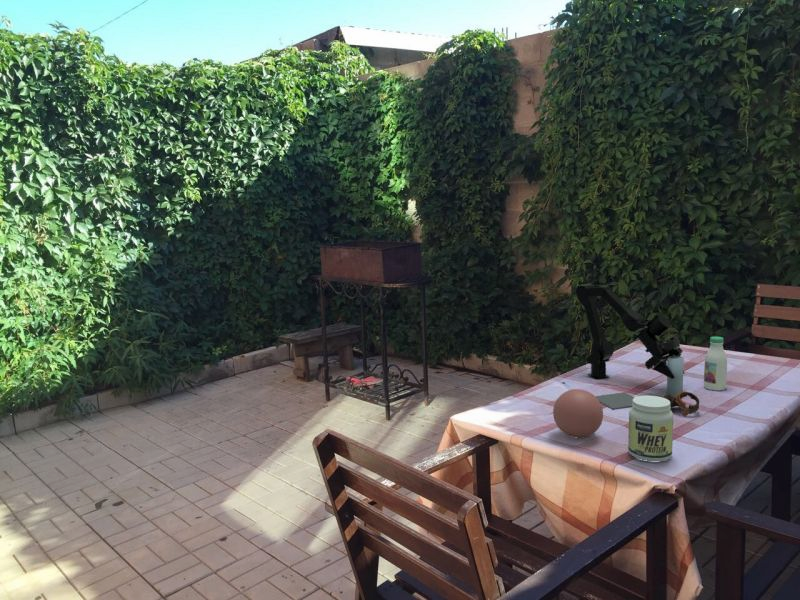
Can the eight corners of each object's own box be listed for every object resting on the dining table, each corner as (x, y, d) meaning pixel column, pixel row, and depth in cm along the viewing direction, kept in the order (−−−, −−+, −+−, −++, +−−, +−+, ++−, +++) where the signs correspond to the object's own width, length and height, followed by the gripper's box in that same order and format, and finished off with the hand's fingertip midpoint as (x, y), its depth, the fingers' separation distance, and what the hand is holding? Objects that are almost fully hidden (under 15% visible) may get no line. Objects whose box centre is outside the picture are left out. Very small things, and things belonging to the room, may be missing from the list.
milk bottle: (721, 384, 250) (723, 335, 247) (729, 391, 243) (731, 339, 239) (700, 385, 251) (702, 335, 248) (708, 391, 244) (710, 340, 240)
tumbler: (663, 392, 245) (664, 356, 242) (676, 390, 246) (677, 355, 244) (673, 396, 239) (674, 360, 237) (685, 394, 241) (687, 358, 238)
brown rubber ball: (615, 428, 211) (615, 383, 208) (591, 449, 195) (592, 401, 193) (570, 420, 220) (570, 377, 218) (545, 439, 205) (544, 393, 202)
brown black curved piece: (691, 408, 228) (700, 392, 223) (693, 427, 221) (703, 411, 216) (657, 399, 230) (665, 383, 225) (658, 418, 223) (667, 402, 218)
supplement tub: (631, 463, 185) (632, 407, 182) (625, 446, 196) (626, 393, 194) (676, 465, 182) (678, 408, 179) (667, 448, 194) (669, 394, 191)
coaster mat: (591, 397, 242) (591, 396, 242) (624, 393, 245) (624, 392, 245) (612, 409, 228) (612, 408, 228) (646, 404, 232) (646, 403, 232)
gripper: (653, 335, 236) (681, 369, 229) (678, 326, 247) (706, 359, 241) (633, 352, 243) (660, 386, 237) (658, 343, 255) (685, 375, 248)
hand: (678, 376), depth 240 cm, fingers open, 7 cm apart
